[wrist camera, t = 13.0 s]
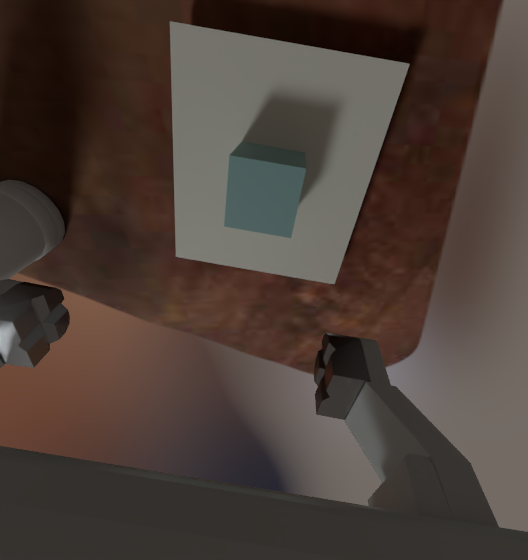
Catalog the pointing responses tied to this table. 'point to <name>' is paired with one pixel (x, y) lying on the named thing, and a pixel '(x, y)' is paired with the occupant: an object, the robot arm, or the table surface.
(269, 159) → the teal block
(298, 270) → the cream wooden base
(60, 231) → the bottle
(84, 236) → the table surface
